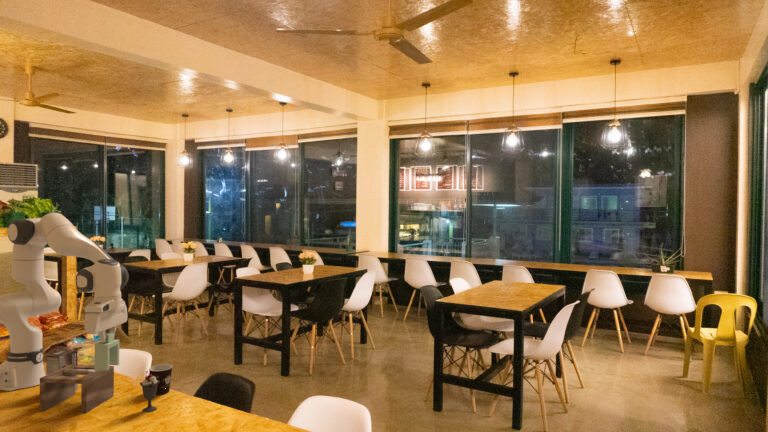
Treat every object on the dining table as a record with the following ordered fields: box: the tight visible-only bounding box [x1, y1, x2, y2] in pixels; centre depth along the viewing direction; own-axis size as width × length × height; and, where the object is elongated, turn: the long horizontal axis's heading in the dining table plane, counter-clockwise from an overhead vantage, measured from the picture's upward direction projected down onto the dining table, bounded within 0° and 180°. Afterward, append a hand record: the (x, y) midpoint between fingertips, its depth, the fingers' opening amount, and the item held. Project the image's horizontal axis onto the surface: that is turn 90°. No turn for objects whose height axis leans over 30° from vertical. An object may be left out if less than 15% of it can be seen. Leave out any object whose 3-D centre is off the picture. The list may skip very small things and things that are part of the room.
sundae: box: [139, 370, 160, 413], centre depth 182 cm, size 7×7×15 cm
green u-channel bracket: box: [94, 332, 120, 371], centre depth 183 cm, size 5×7×12 cm
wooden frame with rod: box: [39, 364, 115, 414], centre depth 187 cm, size 18×16×13 cm
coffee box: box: [45, 349, 79, 391], centre depth 198 cm, size 9×6×16 cm
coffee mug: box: [148, 363, 173, 396], centre depth 198 cm, size 12×9×10 cm
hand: (107, 340), depth 183 cm, fingers closed on green u-channel bracket, 3 cm apart
